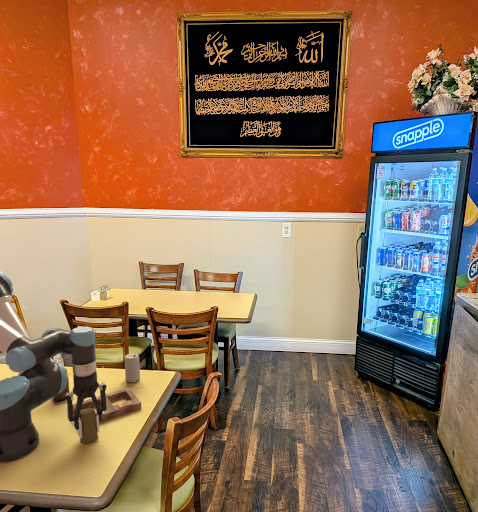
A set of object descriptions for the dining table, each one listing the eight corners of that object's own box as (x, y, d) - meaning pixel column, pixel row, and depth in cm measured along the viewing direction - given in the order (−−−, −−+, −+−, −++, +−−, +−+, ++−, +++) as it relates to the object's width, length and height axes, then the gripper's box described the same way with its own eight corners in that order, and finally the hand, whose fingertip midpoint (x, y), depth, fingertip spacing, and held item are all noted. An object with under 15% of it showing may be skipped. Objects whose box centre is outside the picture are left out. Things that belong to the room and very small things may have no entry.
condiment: (68, 391, 168) (66, 365, 166) (74, 399, 162) (72, 372, 159) (50, 396, 163) (47, 370, 161) (55, 405, 157) (53, 378, 155)
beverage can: (137, 383, 175) (136, 358, 173) (123, 383, 175) (122, 358, 173) (141, 376, 181) (140, 352, 179) (128, 376, 181) (127, 352, 179)
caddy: (81, 428, 143) (81, 420, 142) (72, 410, 154) (72, 403, 153) (141, 407, 156) (141, 401, 155) (128, 392, 167) (128, 386, 167)
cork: (92, 445, 133) (90, 416, 131) (76, 443, 134) (74, 414, 132) (101, 434, 139) (100, 407, 137) (86, 432, 140) (84, 404, 138)
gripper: (58, 384, 124) (63, 449, 128) (115, 369, 134) (118, 429, 138) (53, 375, 130) (58, 437, 134) (108, 361, 140) (111, 419, 144)
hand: (88, 433), depth 136 cm, fingers closed on cork, 5 cm apart
